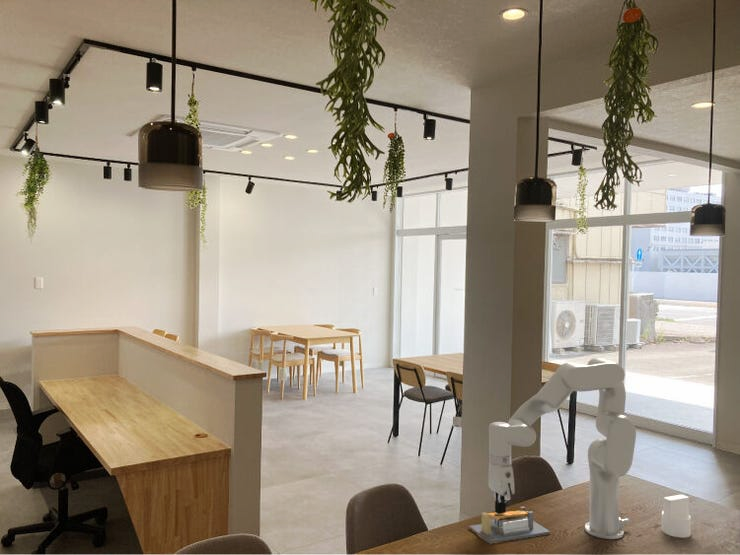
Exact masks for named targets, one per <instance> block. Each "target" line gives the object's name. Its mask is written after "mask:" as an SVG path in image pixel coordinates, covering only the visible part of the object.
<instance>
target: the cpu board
mask: <svg viewBox="0 0 740 555" xmlns="http://www.w3.org/2000/svg"><path fill="white" fill-rule="evenodd" d="M526 509H527V508H526V506H520V507H519V511H521V510H526ZM526 511H527V510H526ZM527 512H528V516H522V517H525V519H528V527H529V532H525V533H519V534H513V535H507V536H503V535H502V534H501V533H499V532H498V531H497V530H495V529H494V528H493V527H491V516H490V515H488V514H487V513H488V512H481V523H480V524H473V525H469V526H468V528H469V527H470V528H471V529H473V530H474V531H475V532H476V533H477V534H479V535H480V536H481V537H482V538H483V539H485V540H486V541H487V542H488V543H493V542H501V543H504V542H503V541H507V542H510V541H509V540H513V541H516V540H515V539H519V540H524V539H523V538H525V539H529V538H528V537H531V538H537V537H542V536H541V535H543V536H549V535H551V532H550V530H549V529H547V528H546V527H544V526H542V525H541V524H539V523H537V522H536V521H534V512H533V510H531V511H527ZM477 534H476V535H477ZM548 534H549V535H548ZM536 536H537V537H536ZM482 538H481V539H482ZM483 539H482V540H483ZM487 542H486V543H487ZM488 543H487V544H488Z"/></svg>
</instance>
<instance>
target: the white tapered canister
mask: <svg viewBox="0 0 740 555" xmlns="http://www.w3.org/2000/svg"><path fill="white" fill-rule="evenodd" d="M662 508H663V510H662V511H661V531H662V532H663V533H664V534H666V535H668V536H671V537H674V538H689V537H690V536H691V535H692V534H691V533H692V532H691V529H692V528H691V527H692V526H691V525H692V522H691V520H692V517H691V515H690V497H689V496H687V495H685V494H677V495H675V494H674V495H671V496H670V495H669V496H664V497H663V507H662Z"/></svg>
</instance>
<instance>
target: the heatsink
mask: <svg viewBox="0 0 740 555" xmlns="http://www.w3.org/2000/svg"><path fill="white" fill-rule="evenodd" d="M525 517H526V516H525ZM525 517H522V516H520V517H508V518H496V519H491V527H493V528H494V529H495V530H497V531H498V532H499V533H501V534H502V535H503V536H507V535H513V534H519V533H525V532H529V527H528V519H525Z"/></svg>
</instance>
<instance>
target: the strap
mask: <svg viewBox="0 0 740 555" xmlns="http://www.w3.org/2000/svg"><path fill="white" fill-rule="evenodd" d="M528 512H529V511H527V510H521V511H520V510H509V511H506V512H505V513H501V514H498V513H496V512H486V513H487V514H488V515H490V516H491V519H496V518H508V517H520V516H525V517H528Z"/></svg>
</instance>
